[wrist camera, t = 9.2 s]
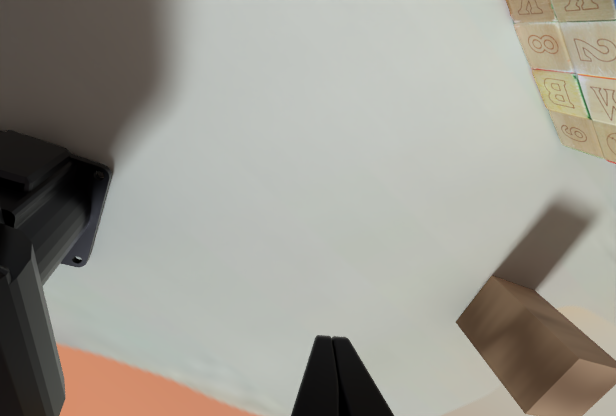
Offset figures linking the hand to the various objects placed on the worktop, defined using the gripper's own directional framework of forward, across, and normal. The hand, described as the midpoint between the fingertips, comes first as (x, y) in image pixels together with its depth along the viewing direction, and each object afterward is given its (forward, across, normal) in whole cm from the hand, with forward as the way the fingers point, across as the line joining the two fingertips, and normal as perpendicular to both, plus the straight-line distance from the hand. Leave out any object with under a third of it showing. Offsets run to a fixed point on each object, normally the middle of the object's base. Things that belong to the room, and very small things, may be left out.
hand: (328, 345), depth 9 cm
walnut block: (+14, -17, +12) cm, 25 cm away
